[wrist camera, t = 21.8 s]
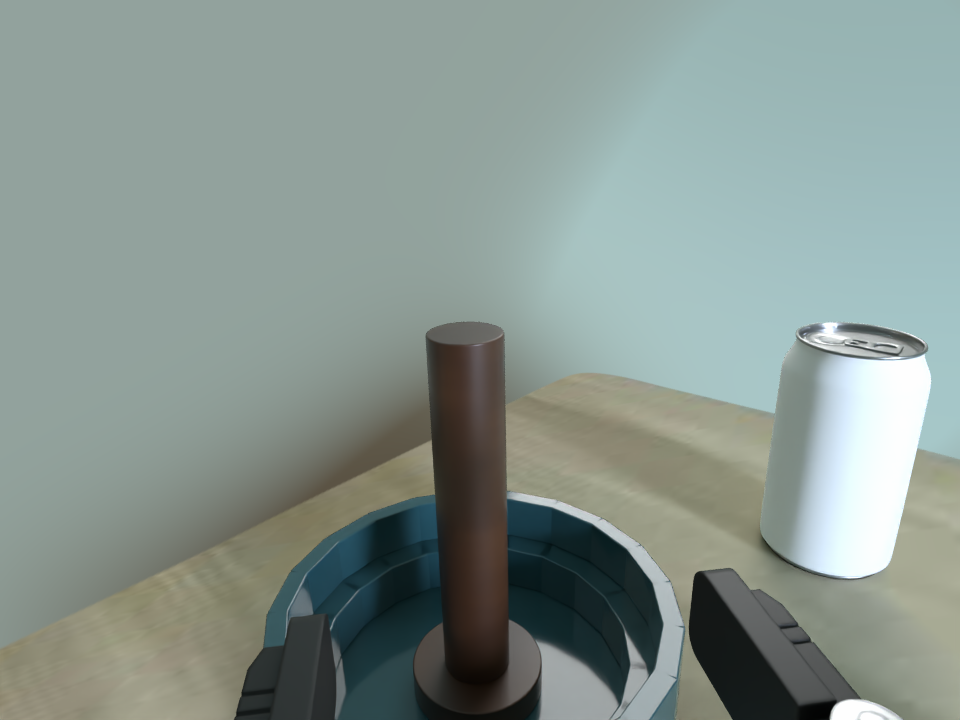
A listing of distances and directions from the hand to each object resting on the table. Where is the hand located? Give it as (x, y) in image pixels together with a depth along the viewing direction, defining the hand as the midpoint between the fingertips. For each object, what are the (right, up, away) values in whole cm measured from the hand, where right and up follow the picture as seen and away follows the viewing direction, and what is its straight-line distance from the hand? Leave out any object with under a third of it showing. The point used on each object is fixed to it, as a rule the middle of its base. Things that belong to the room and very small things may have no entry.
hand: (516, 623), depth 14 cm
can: (+18, -5, +22) cm, 28 cm away
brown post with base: (-1, -8, +12) cm, 14 cm away
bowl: (-1, -8, +13) cm, 15 cm away
